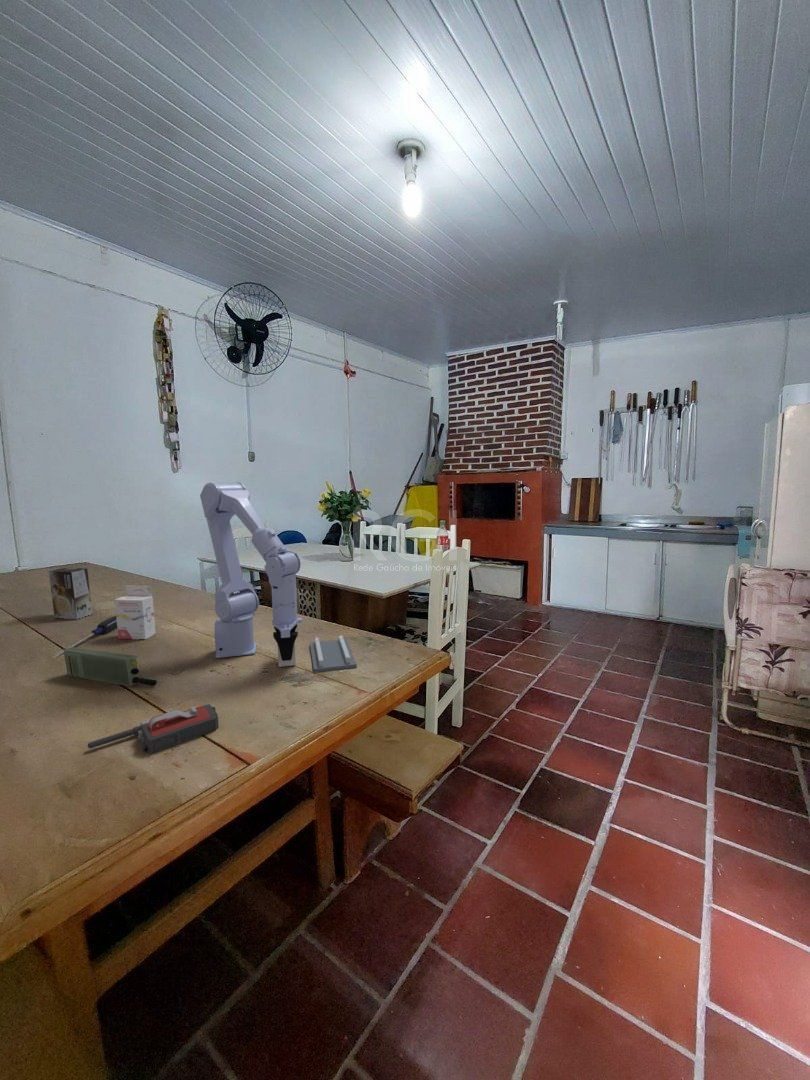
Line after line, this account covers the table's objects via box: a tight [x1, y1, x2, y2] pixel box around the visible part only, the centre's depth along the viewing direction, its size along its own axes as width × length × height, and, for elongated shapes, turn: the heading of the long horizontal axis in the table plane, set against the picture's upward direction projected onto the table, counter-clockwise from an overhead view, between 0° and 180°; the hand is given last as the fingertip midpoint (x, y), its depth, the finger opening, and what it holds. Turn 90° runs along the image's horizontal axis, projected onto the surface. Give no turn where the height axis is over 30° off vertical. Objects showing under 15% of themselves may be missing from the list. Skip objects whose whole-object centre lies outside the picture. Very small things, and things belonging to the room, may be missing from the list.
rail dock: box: [309, 634, 358, 673], centre depth 114 cm, size 10×18×2 cm, turn 15°
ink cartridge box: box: [114, 584, 157, 640], centre depth 128 cm, size 9×5×15 cm, turn 84°
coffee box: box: [48, 567, 93, 620], centre depth 148 cm, size 9×6×16 cm
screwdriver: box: [51, 615, 117, 660], centre depth 126 cm, size 26×4×4 cm, turn 179°
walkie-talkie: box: [87, 703, 219, 754], centre depth 78 cm, size 9×4×20 cm
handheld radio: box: [63, 646, 158, 687], centre depth 100 cm, size 7×3×25 cm
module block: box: [276, 642, 296, 668], centre depth 109 cm, size 4×4×6 cm
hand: (286, 656), depth 109 cm, fingers closed on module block, 4 cm apart
